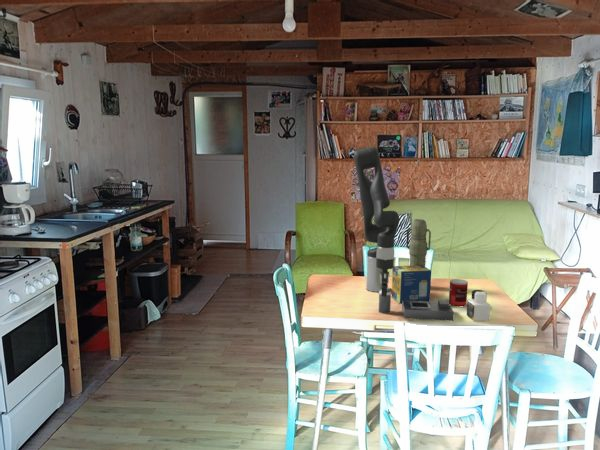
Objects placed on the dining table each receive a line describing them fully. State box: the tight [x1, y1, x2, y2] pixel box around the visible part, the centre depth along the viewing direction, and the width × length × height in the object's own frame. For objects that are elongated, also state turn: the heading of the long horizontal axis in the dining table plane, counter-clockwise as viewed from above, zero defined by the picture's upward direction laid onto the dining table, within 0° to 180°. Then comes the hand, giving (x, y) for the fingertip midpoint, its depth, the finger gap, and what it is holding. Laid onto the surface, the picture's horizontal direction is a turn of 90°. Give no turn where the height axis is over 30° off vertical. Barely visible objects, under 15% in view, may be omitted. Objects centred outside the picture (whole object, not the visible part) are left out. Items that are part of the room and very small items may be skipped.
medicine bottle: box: [466, 289, 491, 322], centre depth 218 cm, size 7×7×12 cm
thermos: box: [406, 218, 432, 267], centre depth 263 cm, size 9×12×35 cm
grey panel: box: [401, 299, 454, 322], centre depth 222 cm, size 14×20×6 cm
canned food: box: [448, 278, 469, 307], centre depth 237 cm, size 8×8×11 cm
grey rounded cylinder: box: [378, 287, 392, 315], centre depth 225 cm, size 5×5×10 cm
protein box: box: [391, 264, 432, 305], centre depth 243 cm, size 10×15×16 cm
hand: (383, 293), depth 225 cm, fingers open, 8 cm apart
